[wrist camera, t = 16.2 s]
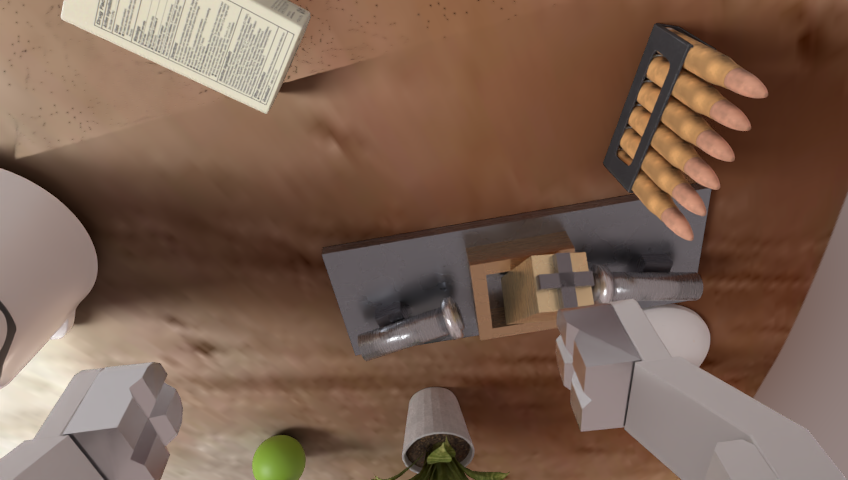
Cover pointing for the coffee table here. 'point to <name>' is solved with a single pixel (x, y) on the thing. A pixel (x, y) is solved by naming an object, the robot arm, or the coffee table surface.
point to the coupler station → (498, 261)
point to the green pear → (279, 459)
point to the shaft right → (646, 282)
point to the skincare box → (204, 39)
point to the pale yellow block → (546, 287)
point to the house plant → (438, 439)
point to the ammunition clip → (677, 123)
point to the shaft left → (409, 328)
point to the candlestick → (680, 331)
